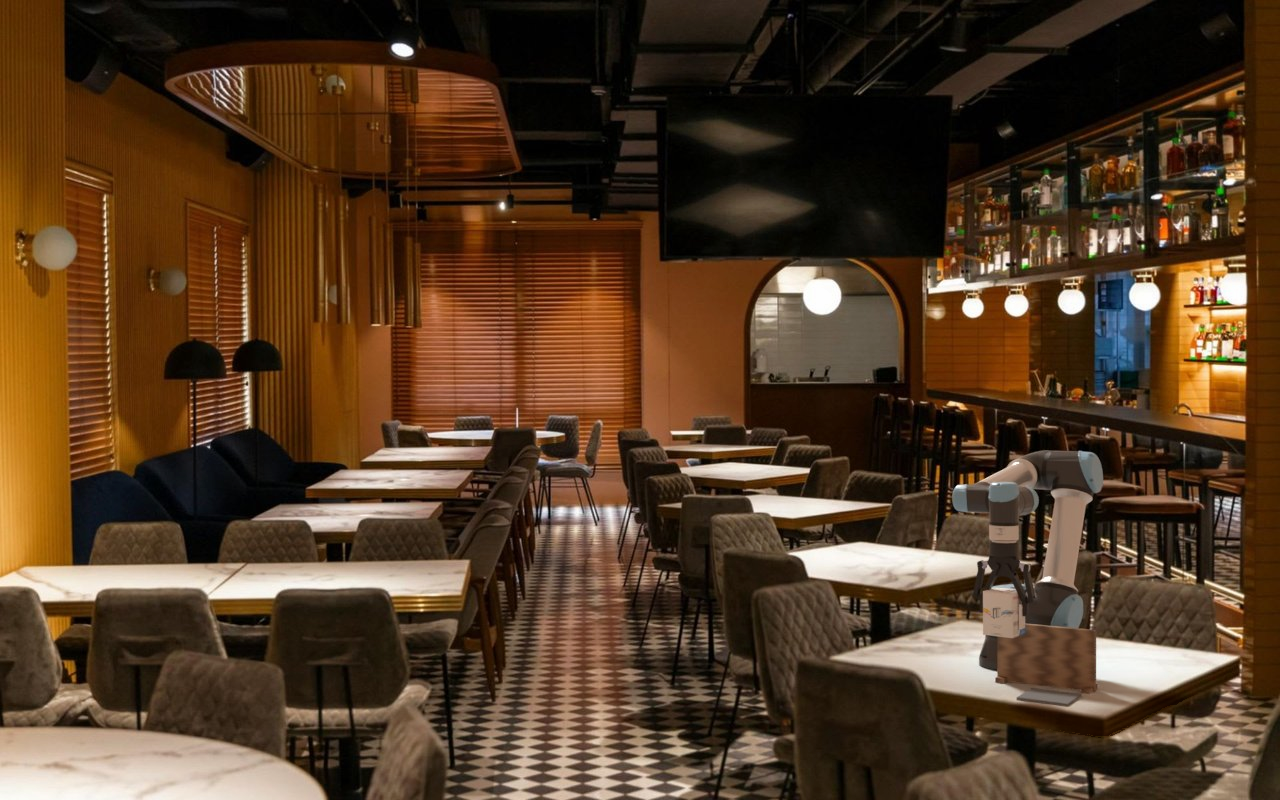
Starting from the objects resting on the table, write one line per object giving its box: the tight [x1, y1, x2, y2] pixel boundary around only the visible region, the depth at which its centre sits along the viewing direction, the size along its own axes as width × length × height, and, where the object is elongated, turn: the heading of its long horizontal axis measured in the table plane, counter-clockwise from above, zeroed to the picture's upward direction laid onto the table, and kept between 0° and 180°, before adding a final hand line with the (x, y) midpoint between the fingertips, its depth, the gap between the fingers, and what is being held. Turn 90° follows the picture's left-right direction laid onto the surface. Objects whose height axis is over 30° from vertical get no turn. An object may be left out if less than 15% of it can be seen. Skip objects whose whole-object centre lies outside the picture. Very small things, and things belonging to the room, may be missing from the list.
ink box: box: [982, 588, 1025, 638], centre depth 362 cm, size 9×8×12 cm
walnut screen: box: [995, 623, 1099, 694], centre depth 370 cm, size 26×7×16 cm, turn 57°
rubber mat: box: [1016, 687, 1083, 707], centre depth 356 cm, size 13×13×1 cm
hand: (1003, 626), depth 362 cm, fingers closed on ink box, 9 cm apart
